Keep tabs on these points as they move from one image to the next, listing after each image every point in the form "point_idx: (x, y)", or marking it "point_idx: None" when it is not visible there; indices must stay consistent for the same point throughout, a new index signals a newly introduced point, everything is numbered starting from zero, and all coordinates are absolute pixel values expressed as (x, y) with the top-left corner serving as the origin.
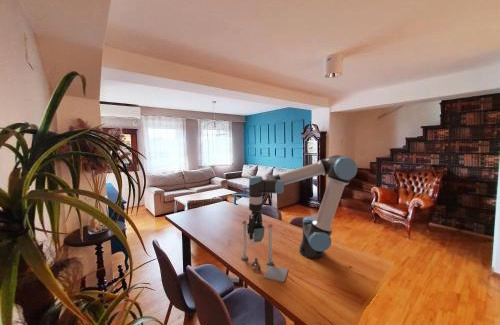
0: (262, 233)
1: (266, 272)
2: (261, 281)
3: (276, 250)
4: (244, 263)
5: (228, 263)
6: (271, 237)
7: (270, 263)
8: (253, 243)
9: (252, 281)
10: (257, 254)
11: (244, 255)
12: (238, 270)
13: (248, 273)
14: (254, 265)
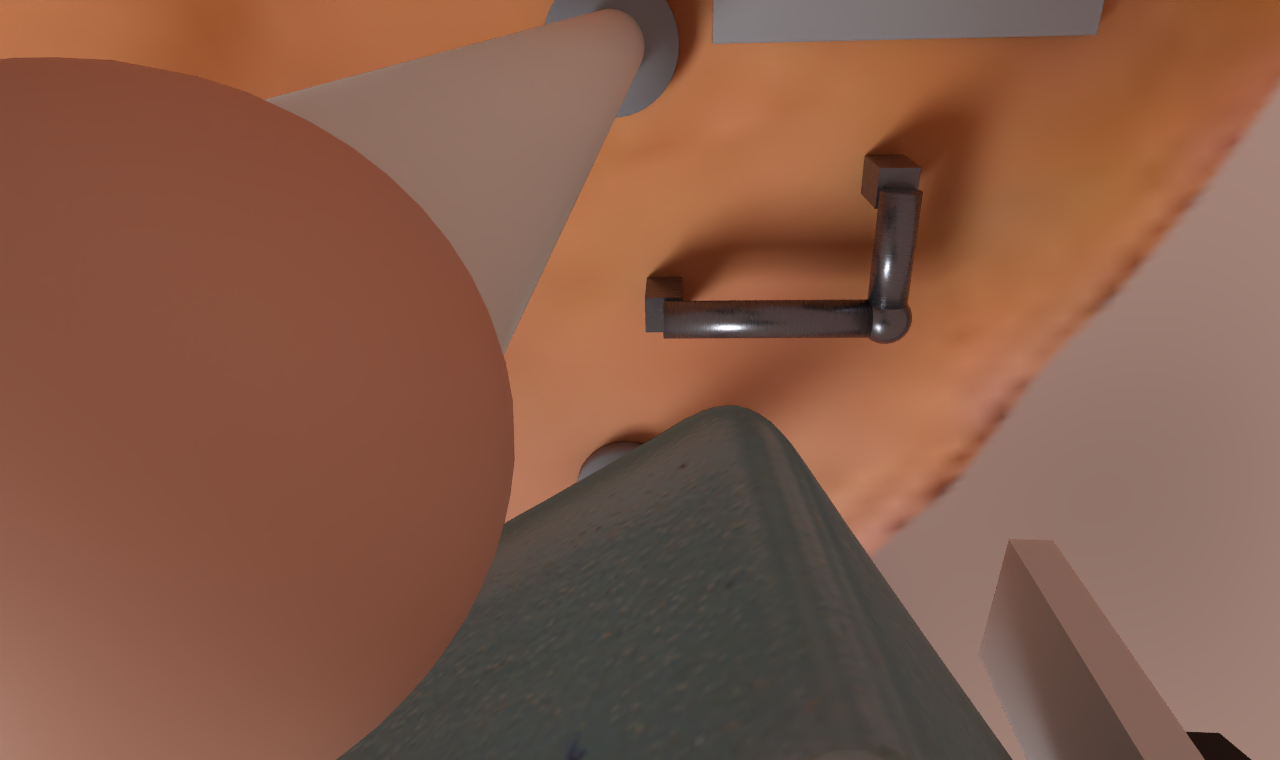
0: (852, 560)
1: (946, 21)
2: (1182, 40)
3: (102, 48)
4: None
5: None
6: (551, 50)
7: (647, 26)
8: (1073, 574)
9: (1191, 188)
10: None
11: None
12: (944, 463)
13: (991, 312)
14: (909, 281)
